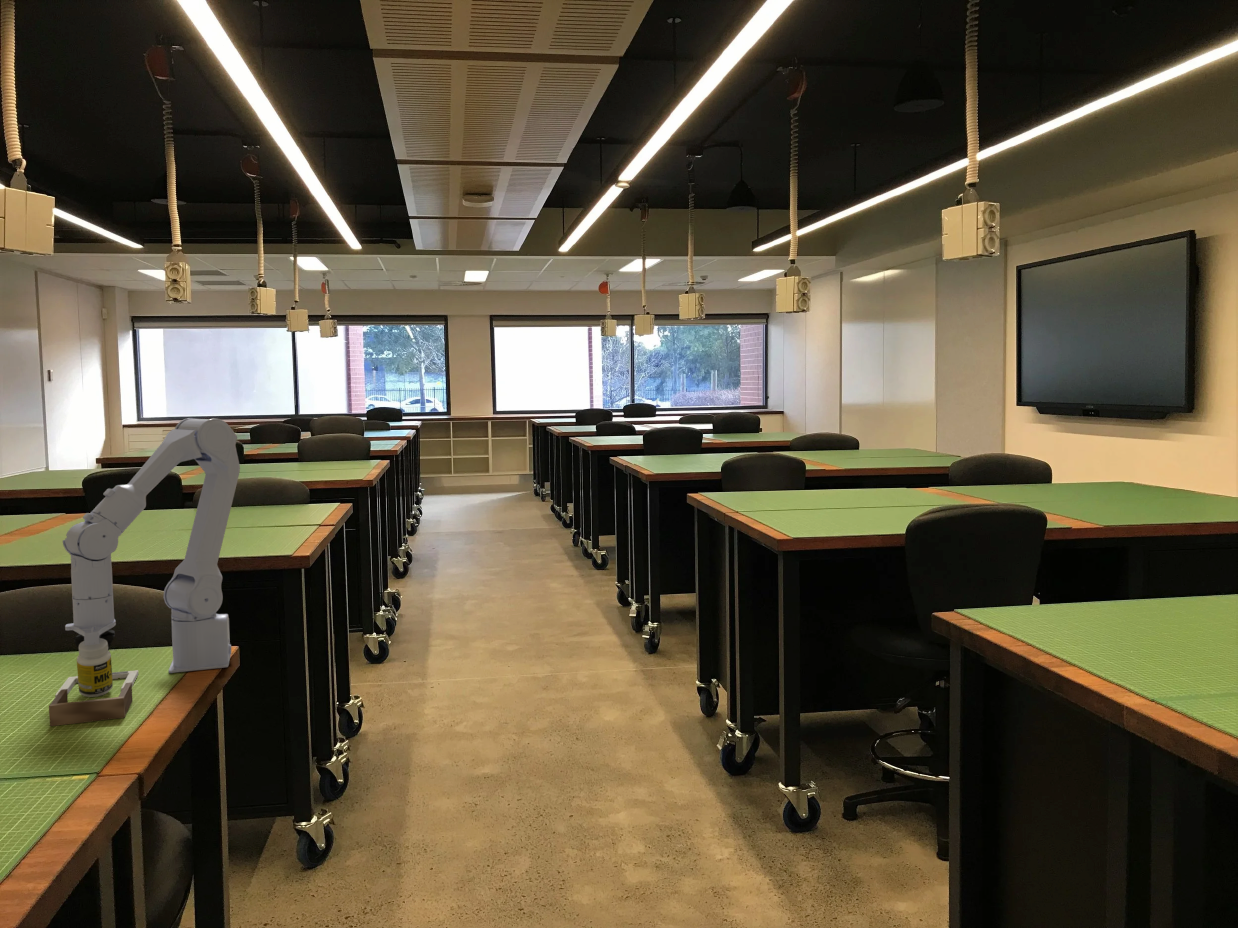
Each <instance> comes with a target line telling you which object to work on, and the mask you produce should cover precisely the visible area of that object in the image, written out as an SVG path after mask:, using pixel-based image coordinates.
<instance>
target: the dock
mask: <svg viewBox="0 0 1238 928" xmlns="http://www.w3.org/2000/svg"><path fill="white" fill-rule="evenodd" d="M137 676H139V670H138V669H136V670H124V671H116V672H113V671H112V680H119V679H118V678H120V679H125V680H124V681H123V684H122V685H121V687H120V692H121V691H122V689H123V687H124V686H125V684H126V683H131V682H132V687H134V684H135V683H134V682H136V681H135V680H137V679H136V678H138V677H137ZM75 684H78V675H76V676H68V678H67V679H66V680H65V681H64V683H63V684H62V685H61V687H59V689H58V691H57V692H56V693H55V695H54V696H55V697H56V696H57V695H58V693H59V692H60V691H61V690H63V689H67V695H68V694H69V693H70V692H71V690H72V689H73V687H74V686H75ZM55 697H54V698H55Z"/></svg>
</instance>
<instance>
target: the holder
mask: <svg viewBox="0 0 1238 928" xmlns="http://www.w3.org/2000/svg"><path fill="white" fill-rule="evenodd" d="M68 697H69V696H68V694H67V689H63V690H61V691H60V692H59V693H58V695H57V696H56V697H54V699H53V700H52V701H51V703H50V704H49V705H48V715H49V717H48V718H49V726H50V727H54V726H55V727H56V726H62V725H63V726H65V725H73V724H74V725H75V724H81V723H90V722H91V723H92V722H99V721H107V720H115V719H116V720H117V719H123V718H125V717H126V715H127V713H128V712H129V710H130V707H131V705H132V703H133V686H132V682H131V683H126V684H125V686H124V687H123V689H122V691H121V690H120V694H119V695H118V696H117V697H107V698H99V699H98V698H97V699H87V700H86V699H85V700H79V701H69V700H68Z"/></svg>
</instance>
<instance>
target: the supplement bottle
mask: <svg viewBox="0 0 1238 928" xmlns="http://www.w3.org/2000/svg"><path fill="white" fill-rule="evenodd" d="M99 639H100V643H99V644H94V645H86V646H85V644H84V641H83V642H81V643H80V644H79V649H78V655H77V657H76V668H77V670H76V671H77V676H78V683H77V685H78V693H79V694H80V695H81V696H83V697H87V698H95V697H101V696H104V695H106V694H107V693H109V692H110V691H111V690H112V688H113V683H114V682H113V679H112V673H113V668H112V667H113V666H112V665H113V663H112V654H111V652H110V650H109V651H108V643H107V641H106V640H105V639H102V638H99Z"/></svg>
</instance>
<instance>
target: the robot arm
mask: <svg viewBox="0 0 1238 928" xmlns="http://www.w3.org/2000/svg"><path fill="white" fill-rule="evenodd" d="M237 440H238V436H237V434H236V433H235V432H234V430H233V429H232V428H231V426H230V425H229V424H228V423H227V422H226V421H224V420H223V419H220V418H210V419H205V418H204V419H203V418H202V419H201V418H194V417H188V418H184V419H182V420H180V421H179V422H178V423H177V424H176V426H175V427H174V429H173V428H172V429H171V430H170V431H169V432H168V433H167V434H165V437H164V439H163V441H162V442H161V444H160V445H159V446H158V447H157V448H156V450H154V452H153V453H152V454H151V455H150V457H149V458H148V459H147V460H146V462H145V463H144V464H143V465H142V466H141V467H140V469H139V470H138V471H137V472H136V474H135V475H133V477H132V478H131V479H130V481H129V482H128V483H127V484H117V485H115V486H114V487H113V488H107V489H106V490H105V491H104V492H103V496H105V497H103V499H102V500H101V501H99V503H98V504H97V505H96V506H95V508H93V510H91V511H90V513H89V512H86V513H85V514H84V515H83V516H82V519H83V520H84V521H81V522H79V523H76V524H74V525H72V526H71V527H70V528H69V529H68V530H67V533H66V534H65V536H66V538H64V539H63V540H62V546H63V548H64V549H65V551H66V552H67V553H68V554H69V555H70V568H71V569H70V577H71V594H72V595H71V596H72V597H71V599H72V613H73V614H72V618H73V623H72V622H71V623H67V624H65V625H64V629H65V631H74V632H75V633H77V634H78V635H76V636H75V637H74V638H73V639H74V640H73V641H74V644H75V646H76V648H77V649H78V650H79V644H80V643H81V642H83V641H84V644H85V646H86V645H94V644H99V643H100V639H99V638H102V639H105V640H106V641H107V643H108V651H109V652H110V647H111V645H112V642H113V641H114V639H115V635H116V632H115V630H113V629H112V628H114V627H116V625H117V623H116V622H117V621H116V619H115V609H114V608H115V607H114V589H113V587H114V586H113V585H114V584H113V568H112V567H113V566H112V554H113V553H114V552H116V550H117V549H118V546H119V537H120V536H121V535H122V534H124V532H125V531H126V530H127V529H128V528H129V526H131V524H133V522H134V521H135V519H136V518H137V517H139V515H140V514H141V513H142V511H144V509H146V507H147V495H148V494H149V493H150V492H152V490H153V489H154V488H155V487H157V485H159V483H160V482H161V481H162V480H163V479H164V478H166V477H167V476H168V475H169V474H170V473H171V471H173V470H174V469H175V468H176V467H177V465H179V464H180V463H182V462H187V461H191V460H195V462H196V463H197V464H198V466H199V467H200V468H201V469H202V472H204V474H205V476H204V480H203V484H202V487H201V492H200V496H199V500H198V504H197V508H196V512H195V516H194V520H193V524H192V529H191V532H190V536H189V540H188V544H187V548H186V552H185V556H184V559H183V560H182V562H180V563H179V564H178V566H177V567H175V569H174V573H173V575H172V577H171V579H170V580H169V581H168V582H167V584H166V586H165V587H164V590H163V600H164V603H165V605H166V606H167V607H168V608H169V609H170V610H171V611H170V612H171V614H170V618H171V619H170V620H171V640H172V642H171V644H172V646H171V647H172V661H171V663H170V666H169V668H168V673H169V674H173V673H174V674H176V673H182V672H183V673H185V672H193V671H203V670H205V671H206V670H213V669H222V668H223V669H224V668H228V667H229V665H230V659H231V655H232V644H231V642H230V641H231V640H230V637H231V636H230V618H229V614H228V613H217V612H218V611H219V609H221V606H222V604H223V599H224V598H223V591H222V582H223V575H222V573H221V570H220V568H219V565H218V563H219V562H218V561H219V558H220V554H221V550H222V546H223V541H224V538H225V535H226V534H225V533H226V530H227V527H228V526H227V525H228V521H229V518H230V514H231V510H232V505H233V501H234V498H235V492H236V489H237V488H236V487H237V484H238V481H239V476H240V474H241V473H240V471H241V466H240V461H239V456H238V452H237V447H236V444H237Z"/></svg>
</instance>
